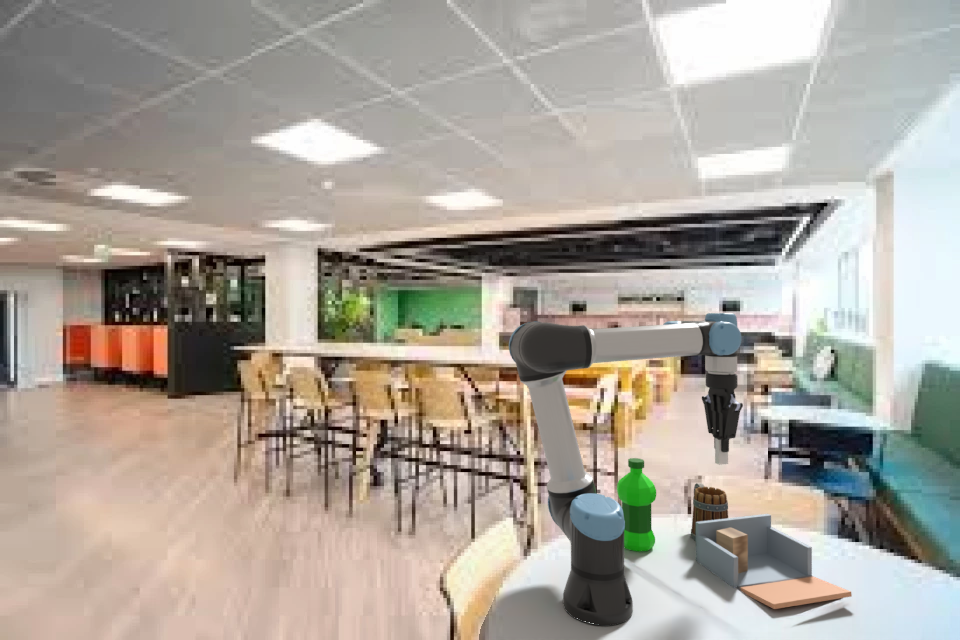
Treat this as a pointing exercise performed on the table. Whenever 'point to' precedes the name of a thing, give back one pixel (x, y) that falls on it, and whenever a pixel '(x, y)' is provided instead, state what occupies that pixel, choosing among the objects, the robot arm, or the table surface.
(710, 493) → the mug
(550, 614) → the table surface
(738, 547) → the wooden block
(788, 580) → the panel
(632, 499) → the plastic bottle
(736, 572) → the box
